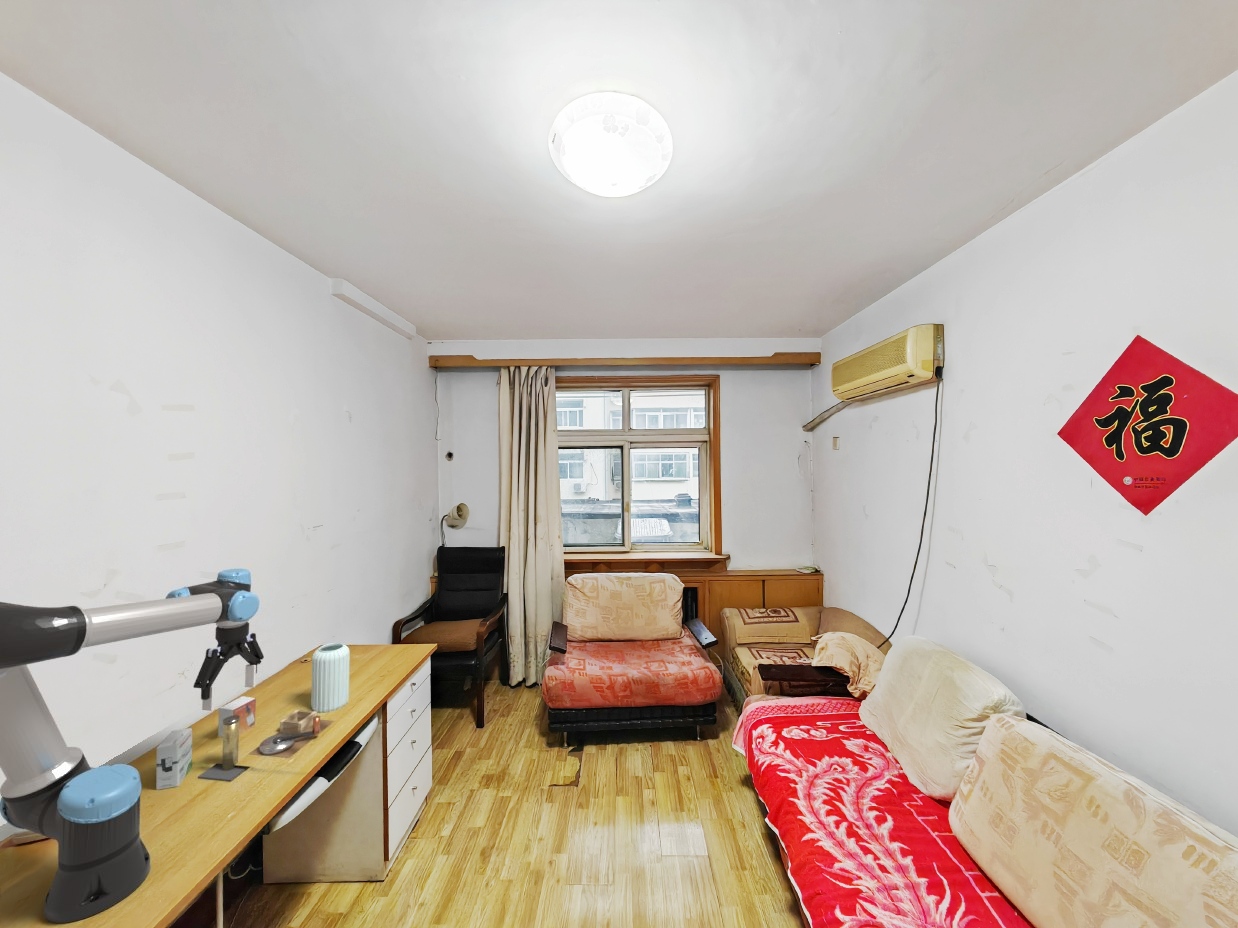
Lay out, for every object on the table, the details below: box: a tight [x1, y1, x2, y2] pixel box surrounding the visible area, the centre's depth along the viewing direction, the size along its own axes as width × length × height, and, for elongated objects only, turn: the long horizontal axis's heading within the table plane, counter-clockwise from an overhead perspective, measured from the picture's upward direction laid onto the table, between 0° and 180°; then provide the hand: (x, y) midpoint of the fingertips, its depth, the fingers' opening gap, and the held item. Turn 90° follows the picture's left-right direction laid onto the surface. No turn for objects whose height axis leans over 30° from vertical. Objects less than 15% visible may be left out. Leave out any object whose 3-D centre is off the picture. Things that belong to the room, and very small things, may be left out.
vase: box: [310, 642, 351, 713], centre depth 173 cm, size 12×12×22 cm
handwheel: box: [258, 715, 321, 754], centre depth 150 cm, size 9×16×6 cm, turn 120°
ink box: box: [155, 727, 193, 790], centre depth 135 cm, size 9×5×12 cm, turn 21°
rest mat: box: [197, 762, 251, 782], centre depth 140 cm, size 10×10×1 cm
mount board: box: [248, 719, 335, 759], centre depth 153 cm, size 20×13×2 cm, turn 175°
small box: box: [217, 695, 257, 738], centre depth 156 cm, size 8×6×10 cm
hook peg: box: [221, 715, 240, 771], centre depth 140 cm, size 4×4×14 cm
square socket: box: [279, 709, 318, 734], centre depth 159 cm, size 7×7×4 cm
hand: (230, 697), depth 139 cm, fingers open, 13 cm apart
